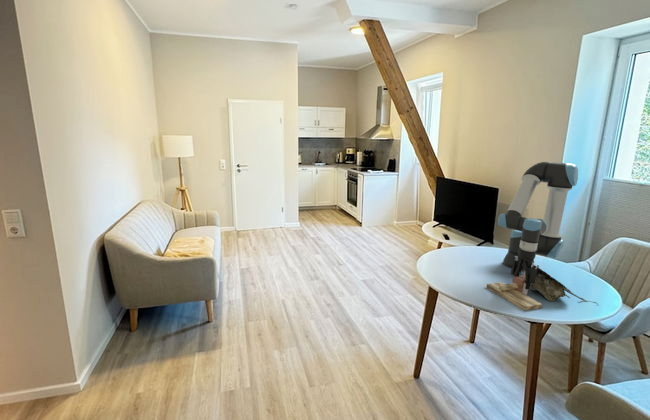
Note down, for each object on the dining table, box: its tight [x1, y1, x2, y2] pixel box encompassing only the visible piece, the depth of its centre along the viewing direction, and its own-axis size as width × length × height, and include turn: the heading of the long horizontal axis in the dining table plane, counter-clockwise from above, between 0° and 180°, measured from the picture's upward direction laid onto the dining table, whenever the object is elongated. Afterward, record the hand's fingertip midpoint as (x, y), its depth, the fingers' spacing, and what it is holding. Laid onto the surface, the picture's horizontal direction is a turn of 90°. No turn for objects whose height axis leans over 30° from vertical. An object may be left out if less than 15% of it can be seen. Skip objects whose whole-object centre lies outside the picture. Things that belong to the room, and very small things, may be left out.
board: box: [486, 281, 543, 311], centre depth 168 cm, size 10×24×2 cm, turn 18°
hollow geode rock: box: [522, 267, 572, 302], centre depth 176 cm, size 28×13×15 cm
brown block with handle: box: [499, 274, 530, 295], centre depth 171 cm, size 16×5×8 cm, turn 108°
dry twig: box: [563, 287, 599, 306], centre depth 174 cm, size 24×10×2 cm, turn 5°
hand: (519, 291), depth 174 cm, fingers closed on brown block with handle, 5 cm apart
